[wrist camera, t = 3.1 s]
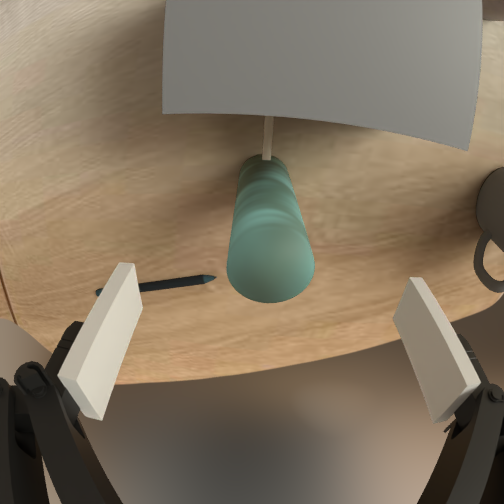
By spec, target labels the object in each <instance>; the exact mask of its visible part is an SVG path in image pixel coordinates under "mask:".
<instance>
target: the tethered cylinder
mask: <svg viewBox="0 0 504 504" xmlns="http://www.w3.org/2000/svg"><path fill="white" fill-rule="evenodd" d="M273 124H274V116H265V120H264V135H263V150H262V155H257V156H254V157H252V158H250V159H249V160H248V161H247V162H245V164H244V165H243V167H242V168H241V171H240V175H239V182H238V188H237V195H236V202H235V209H234V216H233V223H232V230H231V237H230V244H229V251H228V259H227V275H228V278H229V281H230V283H231V284H232V286H233V287H234V288H235V290H236V291H238V292H239V293H240V294H241V295H243V296H244V297H246V298H248V299H250V300H253V301H257V302H262V303H277V302H282V301H286V300H289V299H291V298H293V297H295V296H297V295H298V294H299V293H301V292H302V291H303V290H304V289H305V288H306V287H307V286H308V285H309V283H310V281H311V279H312V277H313V274H314V269H315V262H314V257H313V254H312V250H311V247H310V243H309V240H308V236H307V233H306V229H305V226H304V223H303V219H302V216H301V213H300V209H299V206H298V203H297V199H296V196H295V193H294V190H293V187H292V183H291V180H290V177H289V174H288V171H287V168H286V167H285V165H284V164H283V162H282V161H280V160H279V159H278V158H276V157H274V156H271V150H272V137H273Z"/></svg>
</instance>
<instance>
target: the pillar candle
mask: <svg viewBox="0 0 504 504" xmlns="http://www.w3.org/2000/svg"><path fill="white" fill-rule="evenodd" d="M482 19H485V20H489V21H504V0H482Z"/></svg>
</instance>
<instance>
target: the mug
mask: <svg viewBox="0 0 504 504" xmlns="http://www.w3.org/2000/svg"><path fill="white" fill-rule="evenodd" d="M476 215H477V220H478V223H479V225H480V227H481V228H482V230H483V231H484V233H483V234H482V235H481V237H480V239H479V241H478V243H477V246H476V250H475V254H474V270H475V273H476V275H477V276H478V278H479V279H480V281H481V282H482V283H483V284H484V285H485V286H486V287H487V288H488V289H489V290H491V291H493V292H497V293H500V292H504V280H503V281H497V280H495V279H493V278H492V277H491V276H490V275H489V274H488V273H487V272H486V270H485V269H484V266H483V256H484V251H485V247H486V245H487V243H488V242H489V240H490V239H491V240H492V241H493V242H494V243H495V244H496V245H497V246H498V247H499V248H500V249H501V250H502V251H503V252H504V167H503V168H499V169H497V170H496V171H494V172H493V173H492V174H491V175H490V176H489V177H488V178H487V179H486V181H485V182H484V184H483V186H482V188H481V190H480V192H479V195H478V199H477V205H476Z"/></svg>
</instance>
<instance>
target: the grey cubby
mask: <svg viewBox="0 0 504 504" xmlns="http://www.w3.org/2000/svg"><path fill="white" fill-rule="evenodd" d="M481 53H482V0H166V8H165V23H164V42H163V74H162V114H189V113H213V114H247V115H265V116H278V117H290V118H300V119H310V120H318V121H326V122H334V123H341V124H348V125H354V126H360V127H366V128H372V129H377V130H383V131H388V132H393V133H398V134H402V135H407V136H411V137H416V138H420V139H424V140H428V141H432V142H436V143H440V144H444V145H448V146H451V147H455V148H458V149H462V150H465V151H468V148H469V143H470V138H471V133H472V127H473V122H474V116H475V110H476V103H477V95H478V87H479V78H480V68H481Z"/></svg>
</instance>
